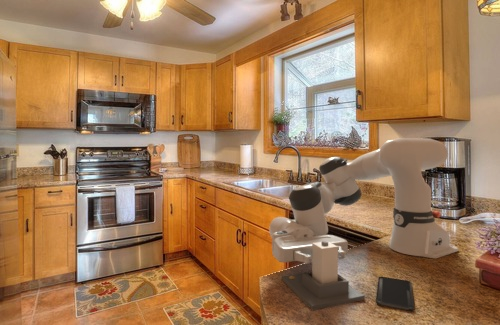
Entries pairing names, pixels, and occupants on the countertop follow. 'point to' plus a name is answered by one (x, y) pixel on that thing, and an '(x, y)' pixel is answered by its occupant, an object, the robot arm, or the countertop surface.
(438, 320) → the countertop surface
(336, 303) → the dock
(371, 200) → the countertop surface
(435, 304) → the countertop surface
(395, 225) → the robot arm
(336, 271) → the cream square peg
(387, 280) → the phone
